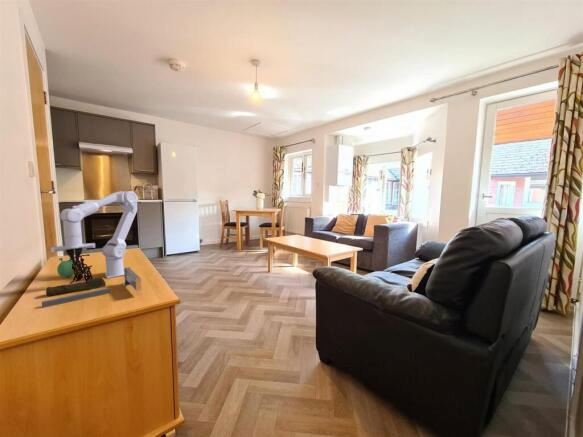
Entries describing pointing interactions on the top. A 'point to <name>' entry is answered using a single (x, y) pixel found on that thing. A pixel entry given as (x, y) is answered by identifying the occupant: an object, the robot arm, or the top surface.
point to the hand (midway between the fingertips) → (75, 265)
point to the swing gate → (132, 279)
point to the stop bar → (75, 297)
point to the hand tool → (76, 286)
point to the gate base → (125, 284)
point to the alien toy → (65, 268)
